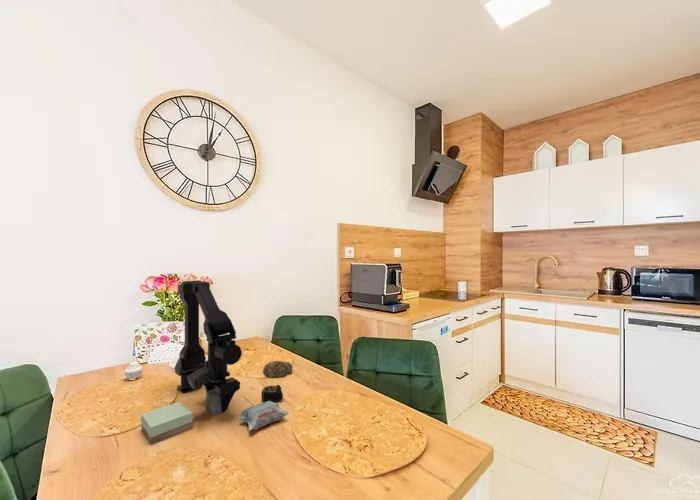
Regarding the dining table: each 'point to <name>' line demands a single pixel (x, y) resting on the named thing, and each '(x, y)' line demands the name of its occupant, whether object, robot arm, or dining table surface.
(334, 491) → the dining table surface
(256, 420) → the packaged food
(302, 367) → the dining table surface
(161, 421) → the top block
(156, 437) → the bottom block
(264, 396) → the tape measure
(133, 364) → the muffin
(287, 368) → the bread roll
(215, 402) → the grey block
